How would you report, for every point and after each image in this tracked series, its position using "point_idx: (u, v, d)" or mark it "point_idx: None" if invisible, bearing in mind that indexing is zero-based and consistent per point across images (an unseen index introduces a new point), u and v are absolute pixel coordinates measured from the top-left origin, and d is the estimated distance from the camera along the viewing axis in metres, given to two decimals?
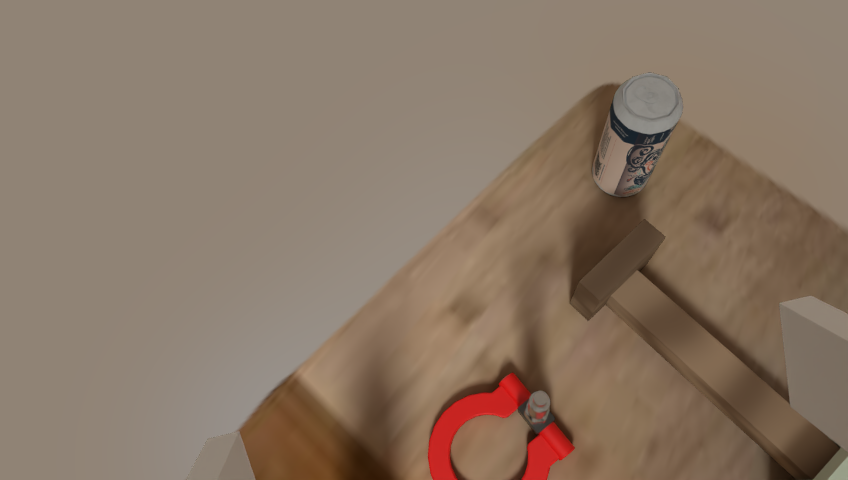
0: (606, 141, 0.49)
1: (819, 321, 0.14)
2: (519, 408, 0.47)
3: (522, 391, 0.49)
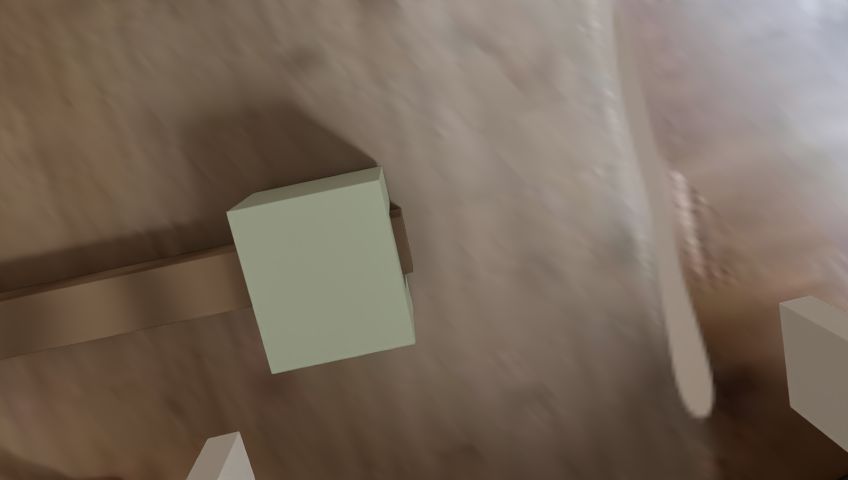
0: None
1: (819, 321, 0.14)
2: None
3: None
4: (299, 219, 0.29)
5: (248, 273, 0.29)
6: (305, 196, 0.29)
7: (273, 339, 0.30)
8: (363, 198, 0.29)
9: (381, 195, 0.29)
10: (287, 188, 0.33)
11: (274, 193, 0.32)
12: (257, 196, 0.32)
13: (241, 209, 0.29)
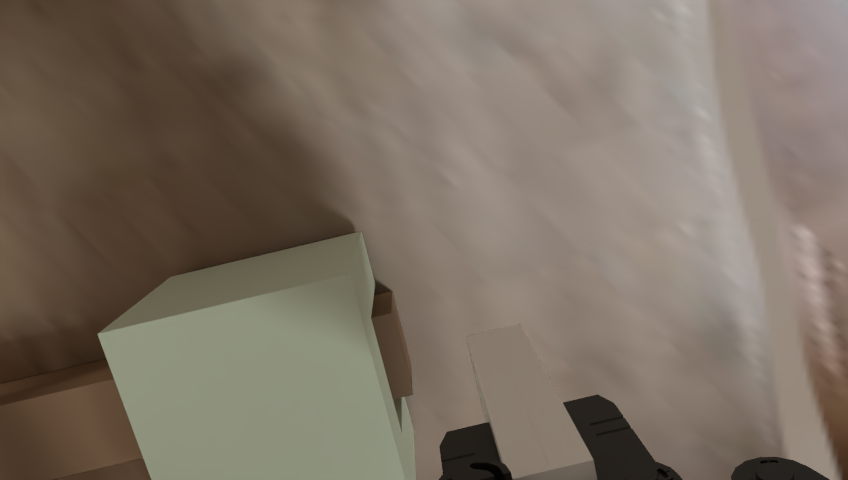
0: None
1: (504, 348, 0.16)
2: None
3: None
4: (219, 340, 0.17)
5: (141, 429, 0.18)
6: (228, 304, 0.17)
7: None
8: (324, 304, 0.17)
9: (354, 298, 0.17)
10: (216, 272, 0.22)
11: (193, 284, 0.21)
12: (168, 288, 0.21)
13: (123, 328, 0.17)
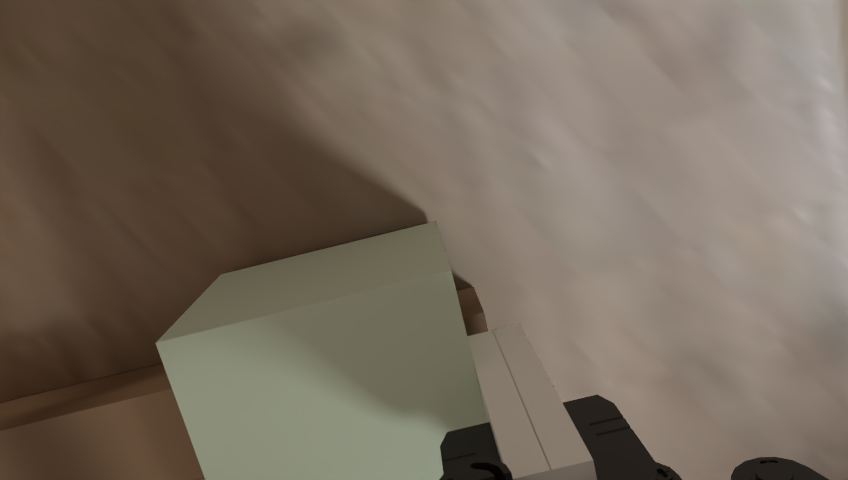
0: None
1: (503, 348, 0.16)
2: None
3: None
4: (298, 349, 0.15)
5: (205, 452, 0.15)
6: (308, 307, 0.15)
7: None
8: (421, 306, 0.15)
9: (456, 299, 0.15)
10: (276, 269, 0.19)
11: (253, 283, 0.18)
12: (224, 288, 0.18)
13: (185, 336, 0.15)
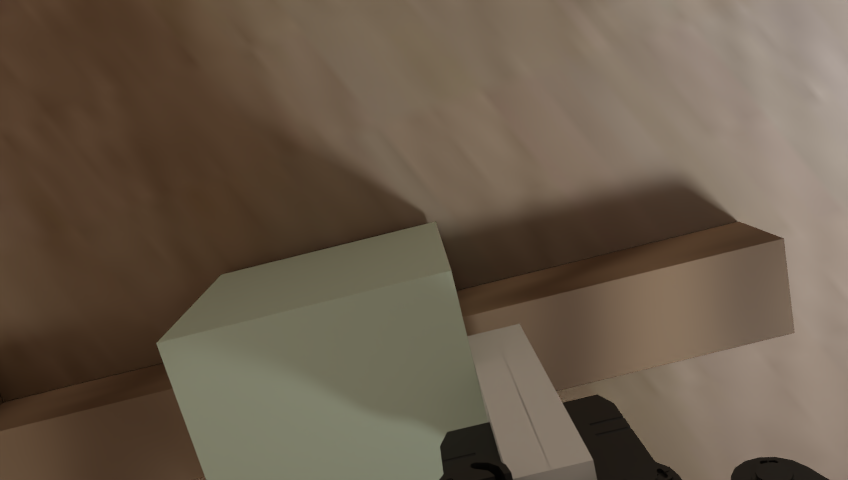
0: None
1: (503, 348, 0.16)
2: None
3: None
4: (298, 350, 0.15)
5: (205, 452, 0.15)
6: (309, 307, 0.15)
7: None
8: (421, 306, 0.15)
9: (456, 299, 0.15)
10: (277, 269, 0.19)
11: (253, 283, 0.18)
12: (224, 288, 0.18)
13: (185, 336, 0.15)
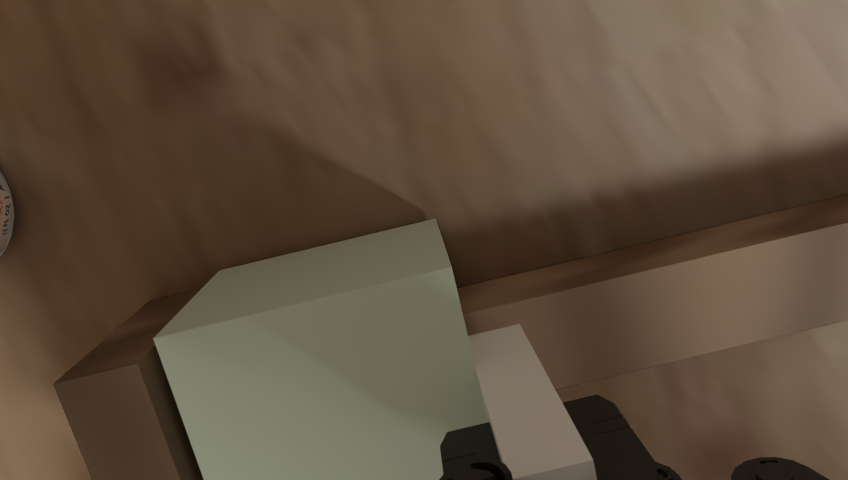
0: None
1: (504, 348, 0.16)
2: None
3: None
4: (297, 346, 0.15)
5: (202, 449, 0.15)
6: (307, 303, 0.15)
7: None
8: (421, 303, 0.15)
9: (456, 296, 0.15)
10: (275, 265, 0.19)
11: (252, 279, 0.18)
12: (222, 284, 0.18)
13: (183, 331, 0.15)
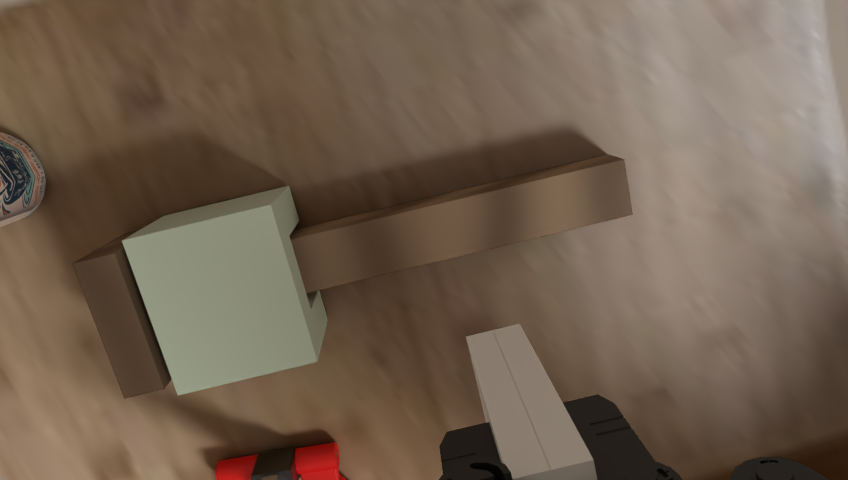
0: None
1: (504, 348, 0.16)
2: None
3: (243, 471, 0.38)
4: (194, 244, 0.30)
5: (147, 299, 0.30)
6: (199, 222, 0.29)
7: (177, 362, 0.31)
8: (256, 223, 0.29)
9: (274, 219, 0.29)
10: (193, 211, 0.34)
11: (178, 217, 0.33)
12: (162, 220, 0.33)
13: (136, 237, 0.29)
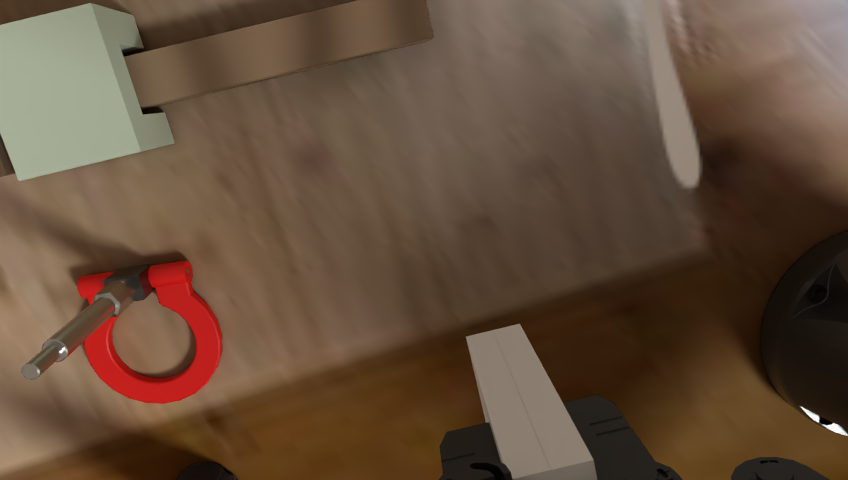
0: None
1: (504, 348, 0.16)
2: None
3: (101, 282, 0.42)
4: (25, 39, 0.34)
5: None
6: (28, 18, 0.34)
7: (16, 149, 0.35)
8: (79, 20, 0.34)
9: (94, 17, 0.34)
10: None
11: None
12: None
13: None
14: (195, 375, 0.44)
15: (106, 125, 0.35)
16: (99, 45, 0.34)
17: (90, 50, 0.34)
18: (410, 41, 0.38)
